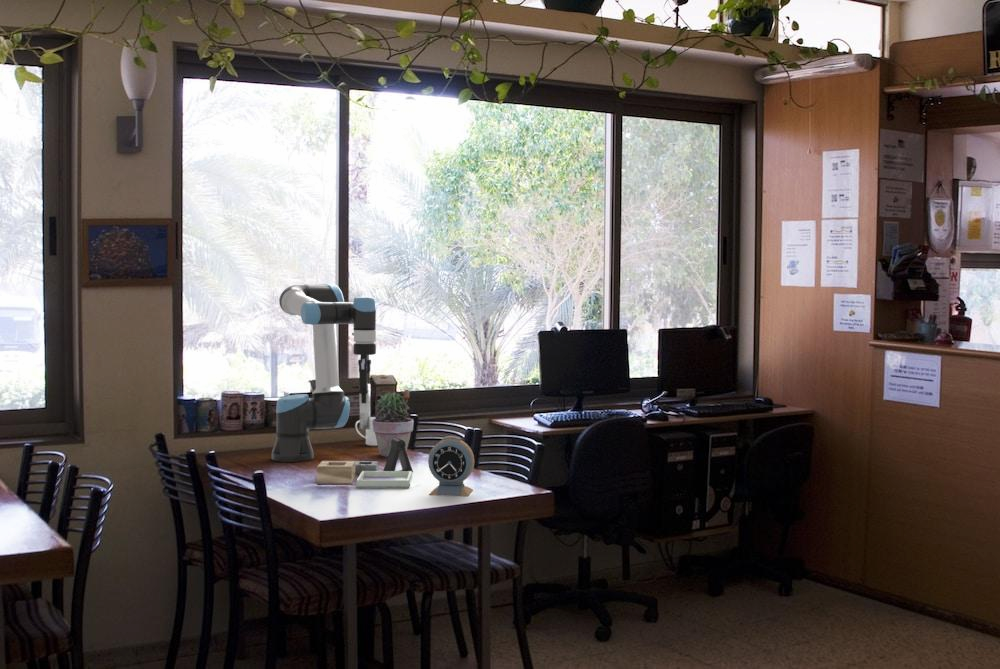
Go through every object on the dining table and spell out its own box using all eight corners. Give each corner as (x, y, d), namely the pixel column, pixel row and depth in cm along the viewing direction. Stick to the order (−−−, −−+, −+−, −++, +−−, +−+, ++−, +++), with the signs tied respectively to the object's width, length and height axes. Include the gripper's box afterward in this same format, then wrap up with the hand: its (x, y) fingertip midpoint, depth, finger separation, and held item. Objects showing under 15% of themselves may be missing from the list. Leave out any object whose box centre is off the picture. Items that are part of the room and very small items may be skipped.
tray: (362, 478, 367) (362, 471, 367) (412, 478, 367) (412, 471, 367) (356, 488, 350) (356, 480, 350) (408, 488, 351) (408, 480, 350)
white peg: (360, 427, 374) (360, 383, 374) (371, 427, 374) (370, 383, 373) (359, 429, 371) (358, 384, 370) (369, 429, 371) (369, 384, 370)
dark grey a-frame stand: (388, 476, 371) (388, 441, 371) (382, 473, 377) (382, 438, 376) (413, 474, 375) (413, 439, 374) (407, 471, 380) (407, 437, 380)
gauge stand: (354, 472, 378) (354, 461, 377) (378, 472, 378) (378, 461, 377) (352, 476, 370) (352, 465, 369) (375, 477, 370) (375, 465, 369)
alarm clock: (425, 495, 340) (425, 438, 339) (431, 489, 350) (432, 433, 349) (471, 496, 338) (471, 439, 337) (476, 490, 348) (476, 434, 347)
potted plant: (368, 450, 425) (368, 386, 424) (418, 451, 424) (419, 386, 423) (360, 458, 407) (360, 391, 406) (413, 459, 406) (413, 391, 405)
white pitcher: (383, 442, 446) (383, 416, 446) (387, 445, 439) (387, 419, 438) (353, 443, 442) (353, 417, 442) (357, 446, 435) (357, 420, 434)
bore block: (322, 478, 366) (322, 460, 366) (355, 478, 366) (355, 460, 366) (317, 485, 355) (317, 466, 355) (351, 485, 355) (351, 466, 355)
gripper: (356, 341, 379) (356, 408, 380) (350, 344, 363) (350, 415, 364) (378, 341, 379) (378, 409, 381) (373, 344, 363) (373, 415, 364)
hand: (364, 411), depth 372 cm, fingers closed on white peg, 3 cm apart
